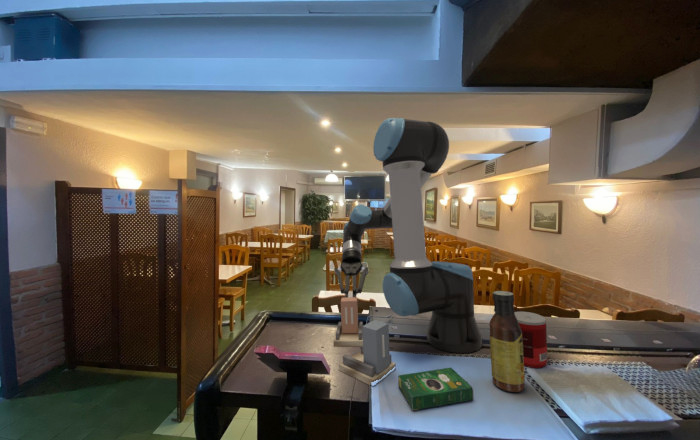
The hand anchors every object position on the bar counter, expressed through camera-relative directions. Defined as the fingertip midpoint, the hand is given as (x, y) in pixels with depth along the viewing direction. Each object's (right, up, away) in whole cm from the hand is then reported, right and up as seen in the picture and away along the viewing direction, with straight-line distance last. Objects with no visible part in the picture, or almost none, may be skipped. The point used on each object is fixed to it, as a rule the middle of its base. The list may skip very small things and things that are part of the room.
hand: (350, 311), depth 91 cm
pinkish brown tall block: (0, -5, -4) cm, 6 cm away
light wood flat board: (+2, -7, -14) cm, 16 cm away
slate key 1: (+6, -5, -26) cm, 27 cm away
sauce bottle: (+34, -6, -32) cm, 47 cm away
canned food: (+45, -5, -22) cm, 50 cm away
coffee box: (+24, -4, -32) cm, 41 cm away
